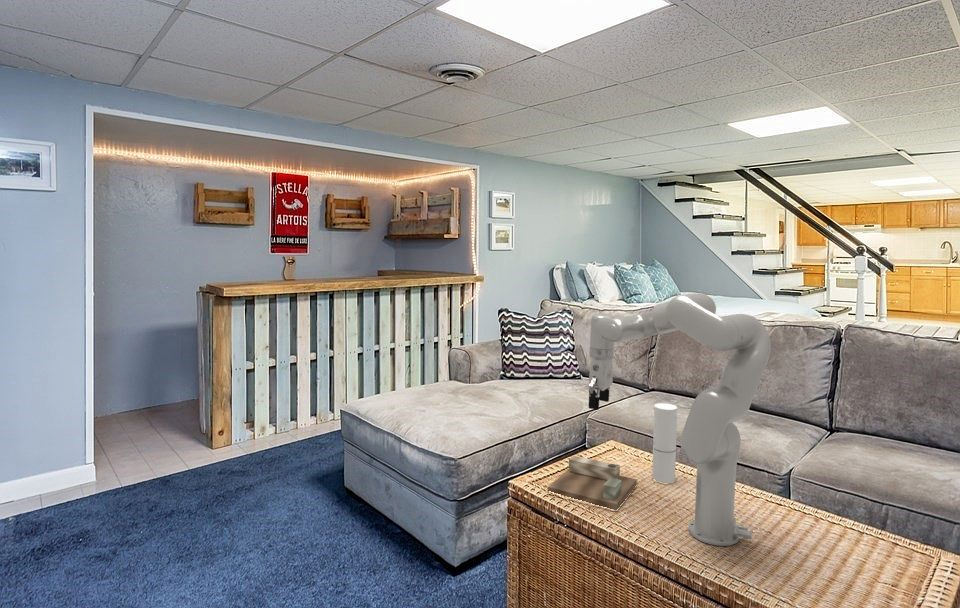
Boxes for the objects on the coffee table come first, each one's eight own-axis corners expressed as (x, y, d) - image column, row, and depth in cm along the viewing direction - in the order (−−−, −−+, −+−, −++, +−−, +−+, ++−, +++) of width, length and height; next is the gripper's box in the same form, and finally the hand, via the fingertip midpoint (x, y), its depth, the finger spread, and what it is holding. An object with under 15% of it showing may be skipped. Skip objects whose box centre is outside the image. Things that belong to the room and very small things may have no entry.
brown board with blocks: (636, 486, 175) (637, 467, 174) (616, 512, 158) (616, 491, 157) (572, 472, 187) (573, 453, 186) (547, 494, 170) (547, 474, 169)
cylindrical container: (671, 475, 183) (674, 403, 181) (677, 484, 176) (679, 409, 174) (650, 475, 184) (652, 403, 181) (654, 484, 177) (656, 409, 174)
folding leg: (619, 477, 176) (619, 464, 175) (615, 481, 172) (615, 469, 172) (573, 466, 184) (573, 455, 184) (568, 471, 181) (568, 458, 180)
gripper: (604, 359, 163) (601, 414, 165) (621, 349, 178) (618, 400, 180) (580, 356, 167) (577, 409, 169) (599, 346, 181) (596, 396, 184)
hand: (598, 404), depth 174 cm, fingers open, 9 cm apart
